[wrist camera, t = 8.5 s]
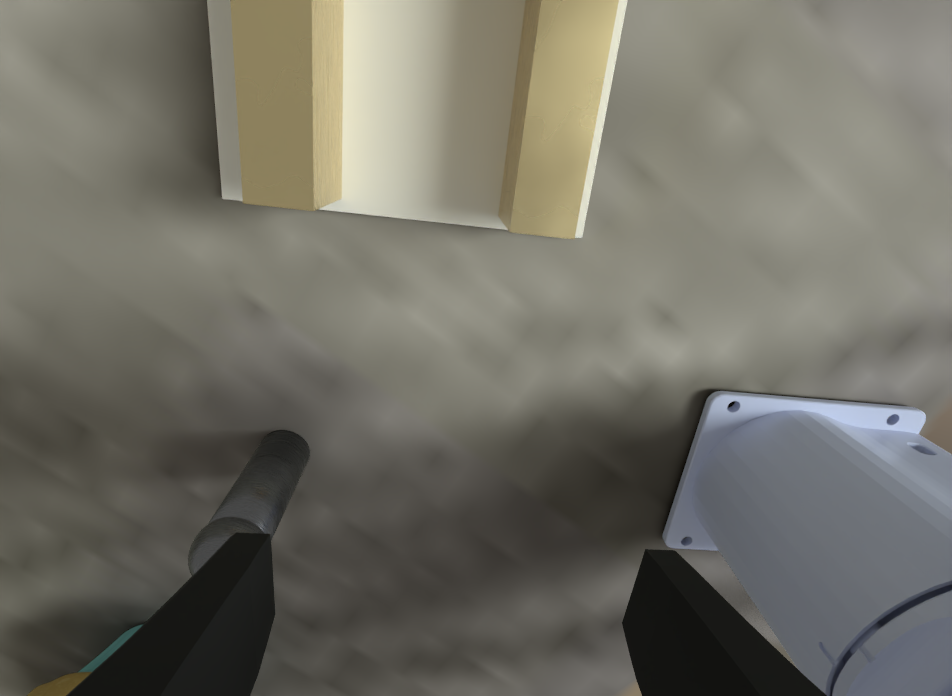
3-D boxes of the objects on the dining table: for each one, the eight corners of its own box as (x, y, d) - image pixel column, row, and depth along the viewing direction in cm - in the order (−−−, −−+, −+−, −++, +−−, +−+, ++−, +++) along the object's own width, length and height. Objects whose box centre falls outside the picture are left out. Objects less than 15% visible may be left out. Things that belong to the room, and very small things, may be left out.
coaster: (663, -219, 13) (672, -235, 12) (577, 235, 17) (581, 238, 17) (194, -310, 12) (181, -333, 11) (230, 197, 16) (222, 198, 16)
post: (311, 430, 20) (250, 554, 14) (312, 474, 21) (254, 610, 15) (256, 426, 20) (168, 550, 14) (259, 471, 21) (177, 607, 14)
